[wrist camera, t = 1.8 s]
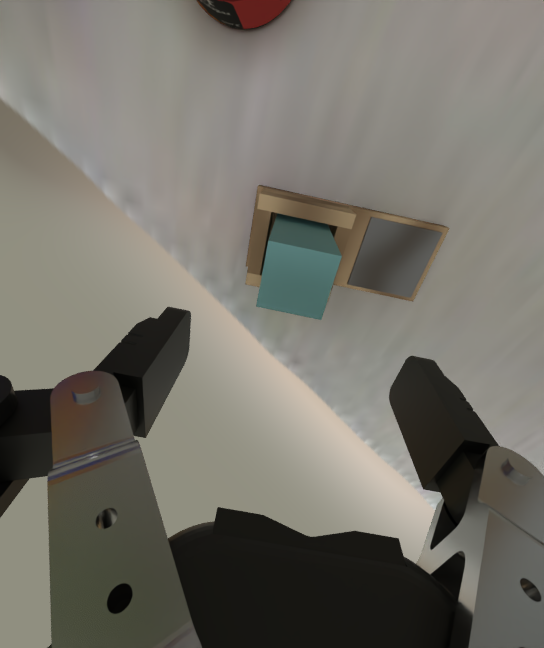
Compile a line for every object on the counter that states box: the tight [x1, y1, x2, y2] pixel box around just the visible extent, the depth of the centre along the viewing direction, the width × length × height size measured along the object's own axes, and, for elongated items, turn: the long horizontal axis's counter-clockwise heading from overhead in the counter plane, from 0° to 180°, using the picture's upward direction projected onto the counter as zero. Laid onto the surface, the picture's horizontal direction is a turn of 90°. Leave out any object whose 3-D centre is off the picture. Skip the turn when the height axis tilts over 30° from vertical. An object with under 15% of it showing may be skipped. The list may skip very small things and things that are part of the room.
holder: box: [246, 185, 449, 301], centre depth 24 cm, size 16×7×5 cm, turn 79°
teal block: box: [256, 213, 342, 320], centre depth 21 cm, size 4×4×10 cm
